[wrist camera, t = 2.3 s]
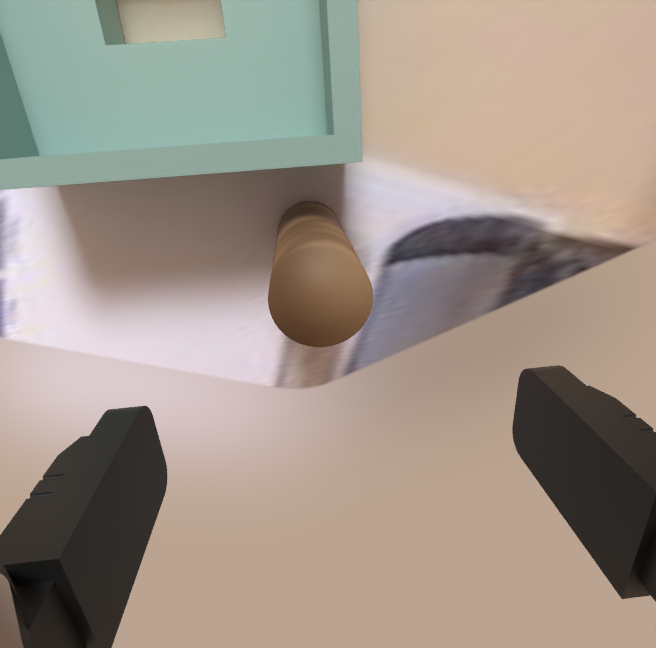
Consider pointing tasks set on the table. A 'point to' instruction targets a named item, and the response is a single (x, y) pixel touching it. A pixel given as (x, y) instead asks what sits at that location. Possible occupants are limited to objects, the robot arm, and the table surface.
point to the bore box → (175, 93)
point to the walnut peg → (317, 279)
